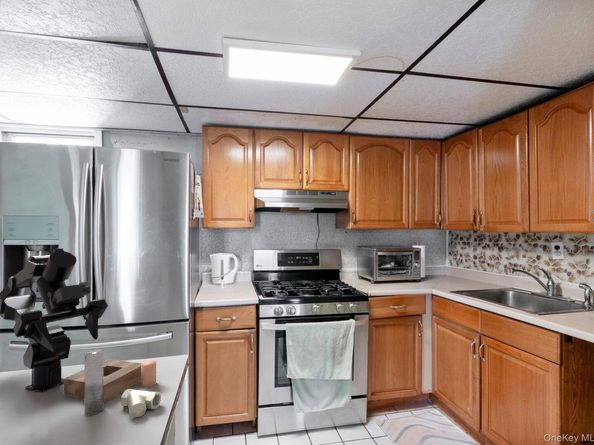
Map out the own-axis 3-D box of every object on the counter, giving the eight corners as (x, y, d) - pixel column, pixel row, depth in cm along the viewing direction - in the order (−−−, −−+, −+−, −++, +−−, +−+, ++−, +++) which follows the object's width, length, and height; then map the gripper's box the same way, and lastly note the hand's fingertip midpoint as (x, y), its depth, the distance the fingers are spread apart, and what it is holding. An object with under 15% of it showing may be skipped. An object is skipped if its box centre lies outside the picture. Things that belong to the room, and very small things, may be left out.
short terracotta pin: (138, 386, 85) (138, 365, 85) (148, 380, 89) (148, 360, 89) (149, 388, 84) (149, 366, 84) (159, 382, 87) (159, 361, 88)
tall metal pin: (80, 414, 73) (80, 354, 73) (95, 405, 76) (95, 349, 76) (93, 416, 71) (92, 356, 72) (107, 408, 75) (107, 350, 75)
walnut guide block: (63, 394, 81) (63, 378, 81) (108, 372, 94) (108, 358, 94) (104, 402, 77) (104, 385, 77) (145, 378, 90) (145, 363, 90)
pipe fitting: (141, 423, 70) (161, 404, 76) (140, 405, 69) (160, 388, 76) (109, 419, 72) (132, 400, 78) (108, 401, 71) (131, 385, 78)
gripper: (18, 277, 74) (40, 334, 67) (104, 268, 89) (127, 314, 83) (5, 309, 77) (24, 365, 71) (89, 295, 93) (110, 340, 87)
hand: (76, 344), depth 78 cm, fingers open, 9 cm apart
